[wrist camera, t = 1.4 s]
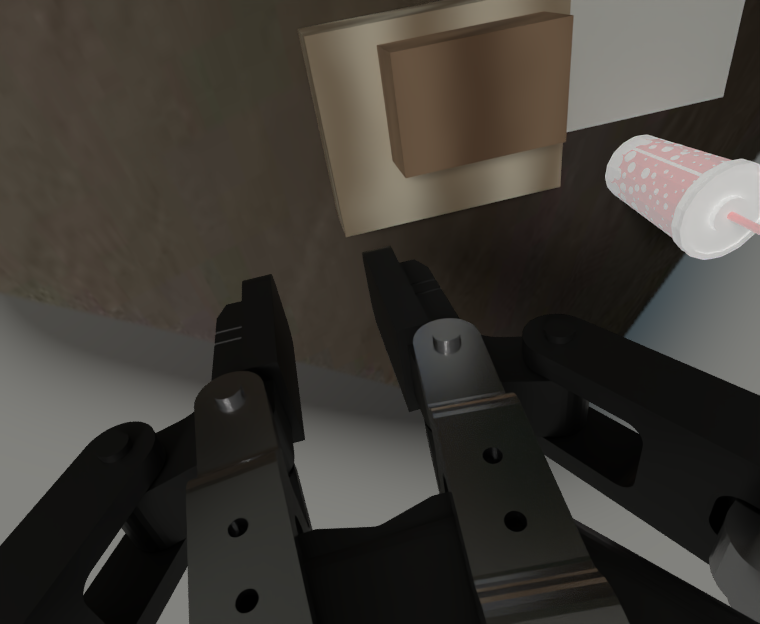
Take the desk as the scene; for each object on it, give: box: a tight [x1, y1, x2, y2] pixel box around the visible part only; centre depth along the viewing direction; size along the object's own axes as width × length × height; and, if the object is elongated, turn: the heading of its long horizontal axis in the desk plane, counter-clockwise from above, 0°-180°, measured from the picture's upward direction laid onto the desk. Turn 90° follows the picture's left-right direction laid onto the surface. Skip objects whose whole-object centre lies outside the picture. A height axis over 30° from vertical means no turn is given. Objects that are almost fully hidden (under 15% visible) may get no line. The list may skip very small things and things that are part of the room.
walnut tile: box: [377, 11, 574, 178], centre depth 27 cm, size 9×6×3 cm, turn 99°
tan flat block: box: [297, 0, 571, 237], centre depth 30 cm, size 14×11×4 cm
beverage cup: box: [605, 135, 760, 260], centre depth 32 cm, size 6×6×14 cm
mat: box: [567, 0, 745, 132], centre depth 32 cm, size 14×9×1 cm, turn 99°
